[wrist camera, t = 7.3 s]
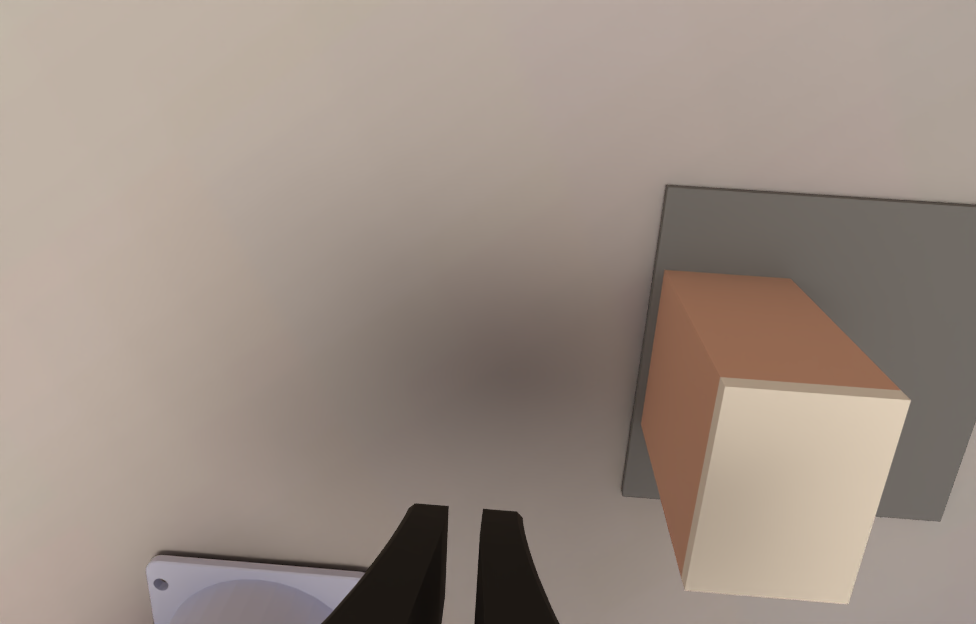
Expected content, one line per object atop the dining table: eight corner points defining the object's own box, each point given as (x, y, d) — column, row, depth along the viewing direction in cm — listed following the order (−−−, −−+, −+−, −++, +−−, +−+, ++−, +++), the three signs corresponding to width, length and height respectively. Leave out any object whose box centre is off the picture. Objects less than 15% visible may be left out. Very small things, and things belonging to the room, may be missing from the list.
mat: (935, 515, 23) (940, 521, 23) (621, 490, 24) (622, 496, 23) (1041, 209, 19) (1048, 212, 19) (665, 185, 20) (668, 187, 20)
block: (756, 433, 22) (847, 604, 16) (641, 424, 22) (684, 590, 16) (790, 278, 20) (910, 400, 14) (664, 269, 20) (725, 386, 14)
